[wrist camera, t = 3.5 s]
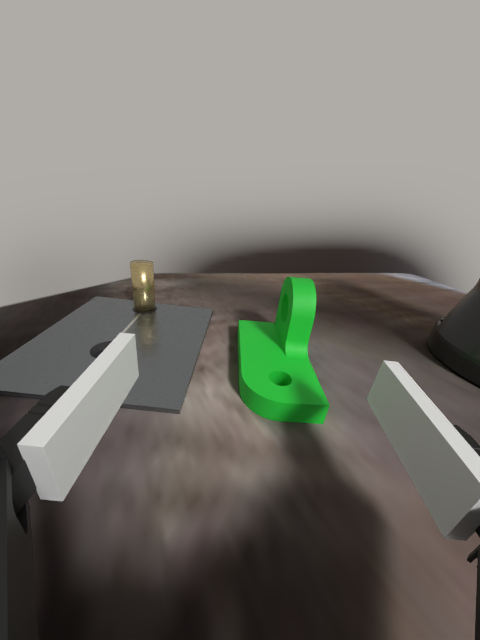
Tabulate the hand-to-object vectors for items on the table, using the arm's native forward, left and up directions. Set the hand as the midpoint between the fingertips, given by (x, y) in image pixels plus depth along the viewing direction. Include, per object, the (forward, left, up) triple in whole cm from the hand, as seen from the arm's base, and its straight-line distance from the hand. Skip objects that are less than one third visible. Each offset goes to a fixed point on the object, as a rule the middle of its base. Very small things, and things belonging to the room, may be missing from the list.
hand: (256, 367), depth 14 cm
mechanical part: (-2, -8, -6) cm, 10 cm away
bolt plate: (+12, -10, -6) cm, 17 cm away
